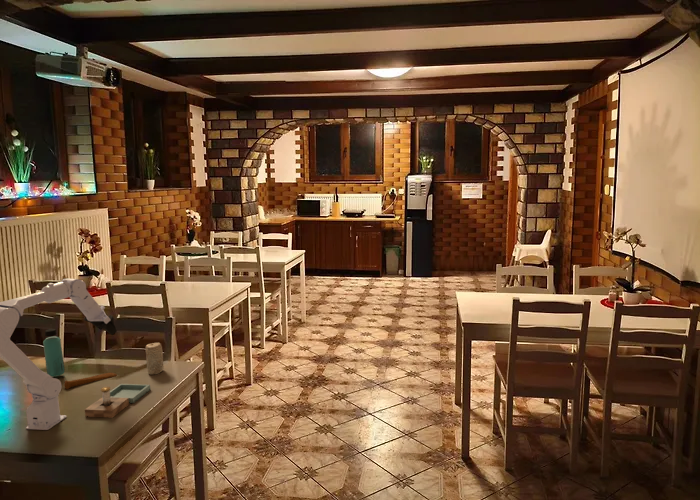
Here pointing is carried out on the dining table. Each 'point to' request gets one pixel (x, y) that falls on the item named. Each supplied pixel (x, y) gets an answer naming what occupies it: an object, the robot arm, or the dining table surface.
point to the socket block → (106, 407)
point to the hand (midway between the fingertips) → (108, 330)
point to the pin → (106, 396)
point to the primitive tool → (87, 380)
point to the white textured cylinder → (154, 358)
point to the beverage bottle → (53, 354)
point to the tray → (130, 391)
